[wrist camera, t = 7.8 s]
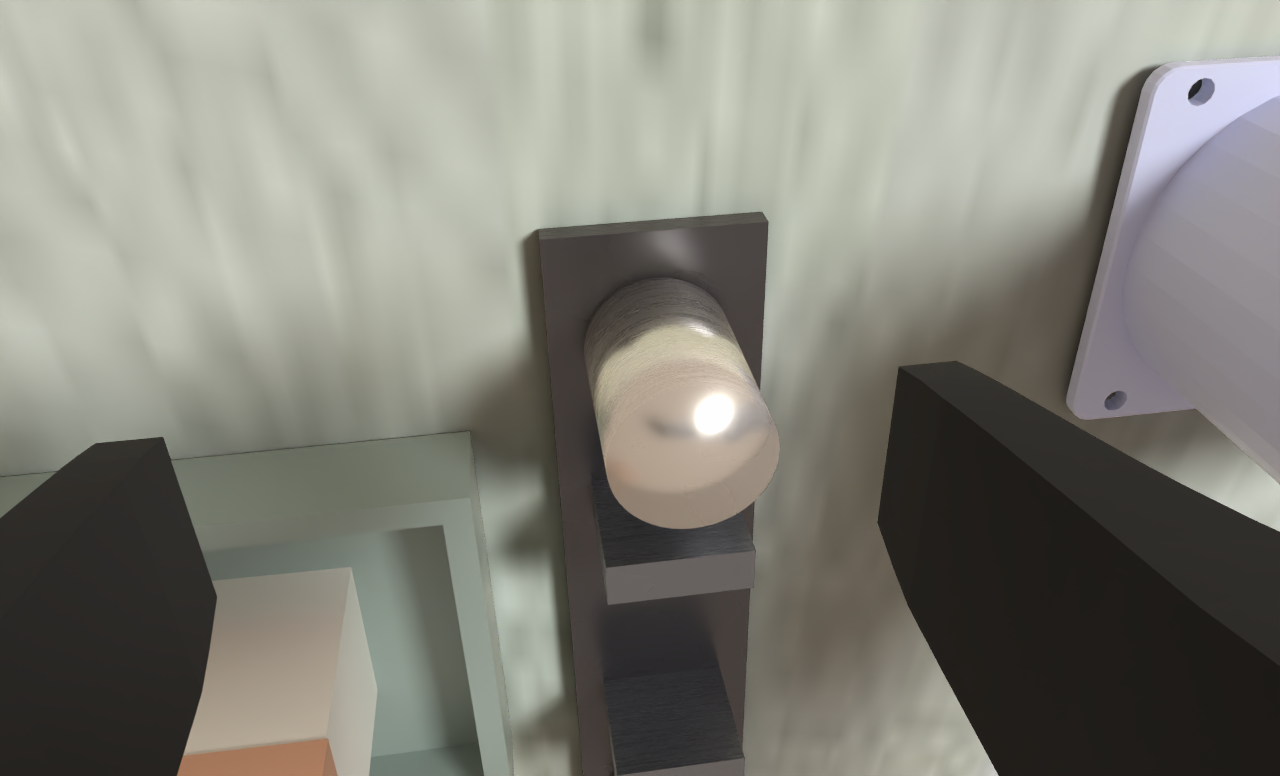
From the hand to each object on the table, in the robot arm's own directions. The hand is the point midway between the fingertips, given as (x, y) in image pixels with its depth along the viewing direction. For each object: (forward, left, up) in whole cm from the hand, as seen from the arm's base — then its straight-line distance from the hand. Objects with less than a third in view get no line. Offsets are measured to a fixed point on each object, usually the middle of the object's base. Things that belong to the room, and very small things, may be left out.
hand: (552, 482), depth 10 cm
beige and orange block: (+7, +11, -9) cm, 16 cm away
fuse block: (-2, +11, -10) cm, 15 cm away
